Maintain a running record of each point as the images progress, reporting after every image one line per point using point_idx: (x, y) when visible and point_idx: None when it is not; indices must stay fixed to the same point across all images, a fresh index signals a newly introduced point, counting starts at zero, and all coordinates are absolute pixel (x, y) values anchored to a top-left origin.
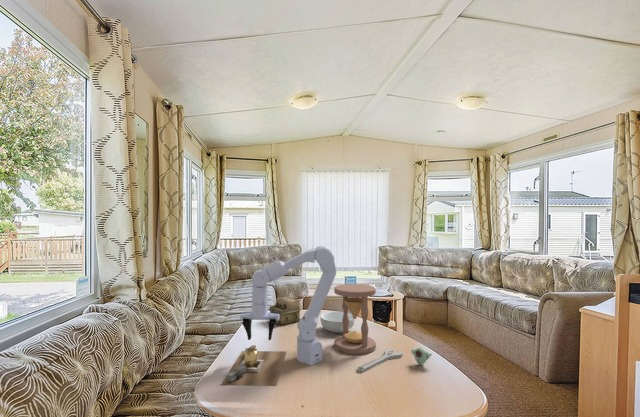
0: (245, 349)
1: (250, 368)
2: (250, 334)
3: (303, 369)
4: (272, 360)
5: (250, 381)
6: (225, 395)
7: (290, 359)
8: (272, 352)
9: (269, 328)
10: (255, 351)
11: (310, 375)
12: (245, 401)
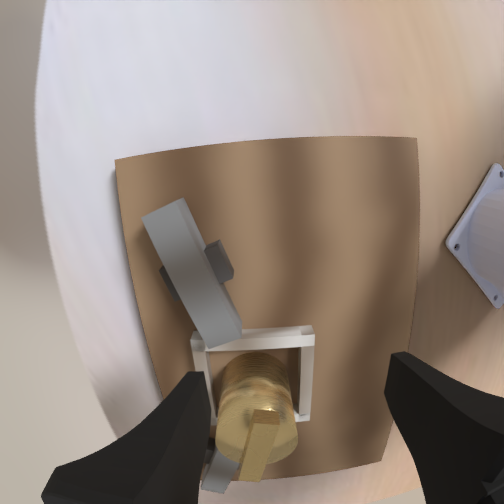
0: (144, 218)
1: None
2: (200, 420)
3: (478, 311)
4: (356, 283)
5: (289, 462)
6: (229, 489)
7: (434, 209)
8: (333, 157)
9: (429, 484)
10: (290, 447)
11: (488, 350)
12: (295, 499)
